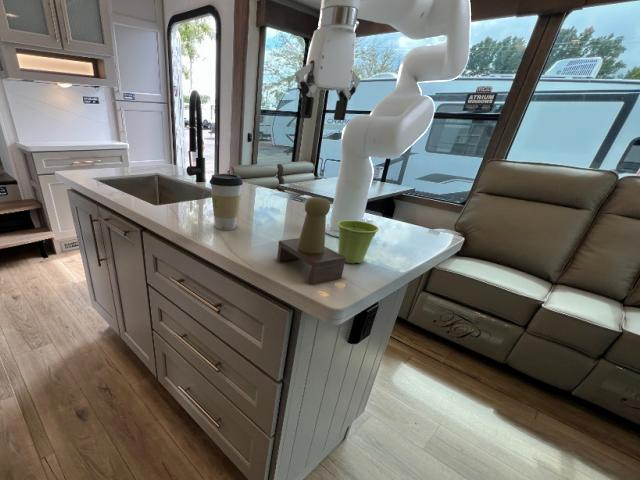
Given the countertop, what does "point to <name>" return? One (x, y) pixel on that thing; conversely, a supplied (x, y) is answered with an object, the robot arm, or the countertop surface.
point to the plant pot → (355, 239)
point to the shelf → (313, 261)
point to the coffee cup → (225, 199)
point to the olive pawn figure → (314, 225)
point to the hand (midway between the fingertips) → (322, 119)
